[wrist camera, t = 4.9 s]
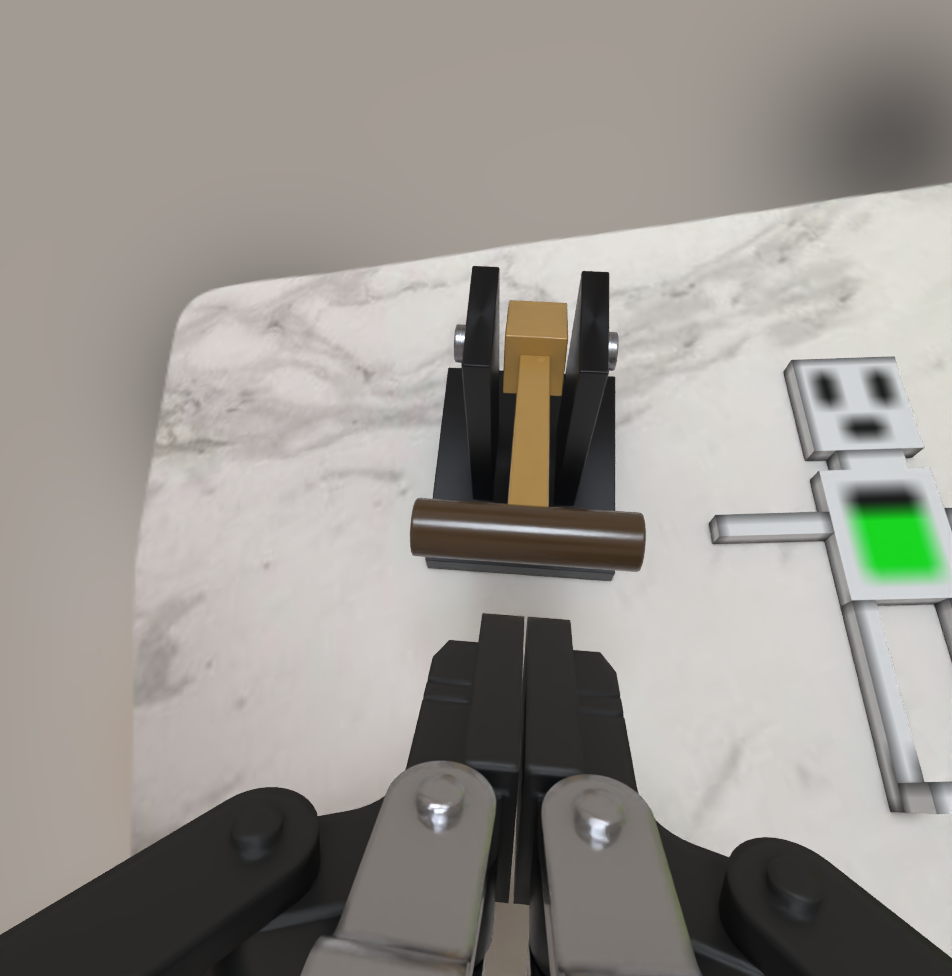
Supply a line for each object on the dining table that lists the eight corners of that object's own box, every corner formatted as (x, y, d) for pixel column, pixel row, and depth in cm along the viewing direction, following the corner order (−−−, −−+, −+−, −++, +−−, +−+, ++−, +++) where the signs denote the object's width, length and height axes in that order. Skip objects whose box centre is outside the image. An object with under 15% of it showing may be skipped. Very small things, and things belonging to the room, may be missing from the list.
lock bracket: (611, 581, 33) (672, 465, 22) (427, 567, 34) (390, 447, 22) (612, 388, 38) (663, 206, 26) (449, 379, 38) (428, 197, 27)
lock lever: (635, 595, 18) (651, 530, 17) (412, 578, 19) (407, 513, 17) (609, 360, 27) (617, 305, 26) (459, 352, 28) (459, 297, 26)
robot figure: (1156, 806, 29) (985, 364, 38) (1234, 807, 26) (1027, 327, 35) (759, 814, 29) (683, 374, 38) (789, 817, 26) (699, 338, 35)
